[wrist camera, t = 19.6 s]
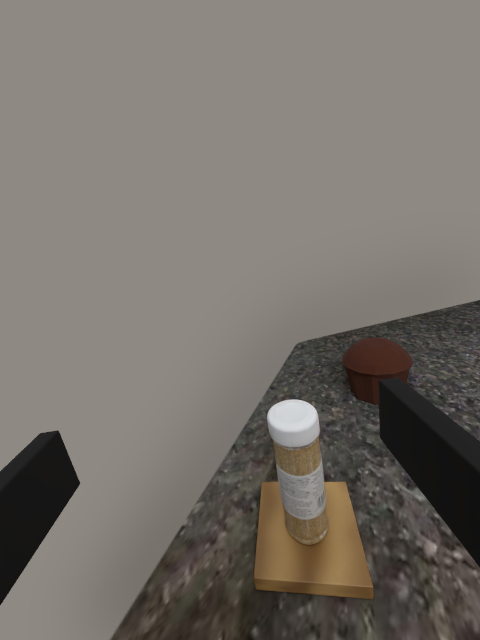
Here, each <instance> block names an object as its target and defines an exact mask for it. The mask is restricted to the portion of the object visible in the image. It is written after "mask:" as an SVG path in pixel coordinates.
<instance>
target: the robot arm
mask: <svg viewBox="0 0 480 640" xmlns="http://www.w3.org/2000/svg"><path fill="white" fill-rule="evenodd" d="M379 416H380V438H381V440H382V441H383V442H384V444H385V445H386V446H387V448H388V449H389V450H390V451H391V453H392V454H393V455H394V457H395V458H396V459H397V461H398V462H399V463H400V464H401V466H402V467H403V468H404V470H405V471H406V472H407V473H408V475H409V476H410V477H411V479H412V480H413V481H414V483H415V484H416V485H417V486H418V488H419V489H420V490H421V492H422V493H423V494H424V496H425V497H426V498H427V499H428V501H429V502H430V503H431V505H432V506H433V507H434V508H435V510H436V511H437V512H438V514H439V515H440V516H441V518H442V519H443V520H444V521H445V523H446V524H447V525H448V527H449V528H450V529H451V531H452V532H453V533H454V534H455V536H456V537H457V538H458V540H459V541H460V542H461V543H462V545H463V546H464V547H465V549H466V550H467V551H468V553H469V554H470V555H471V556H472V558H473V559H474V560H475V562H476V563H477V564H478V566H479V567H480V441H478V440H477V439H476V438H475V437H473V436H472V435H471V434H470V433H468V432H467V431H466V430H464V429H463V428H462V427H461V426H459V425H458V424H457V423H456V422H454V421H453V420H452V419H450V418H449V417H448V416H447V415H445V414H444V413H443V412H441V411H440V410H439V409H438V408H436V407H435V406H434V405H433V404H431V403H430V402H429V401H427V400H426V399H425V398H424V397H422V396H421V395H420V394H419V393H417V392H416V391H415V390H413V389H412V388H411V387H410V386H408V385H407V384H406V383H405V382H403V381H402V380H401V379H399V378H398V377H396V378H390V379H383V380H379ZM79 484H80V482H79V480H78V477H77V475H76V472H75V470H74V467H73V465H72V462H71V460H70V457H69V455H68V453H67V450H66V448H65V445H64V443H63V440H62V438H61V435H60V433H59V431H52V432H46V433H40V434H39V435H38V436H37V437H36V438H35V439H34V440H33V441H32V442H31V443H30V444H29V445H28V446H27V447H25V448H24V449H23V450H22V451H21V452H20V453H19V454H18V455H17V456H16V457H15V458H14V459H13V460H12V461H11V462H10V463H9V464H8V465H7V466H6V467H4V468H3V470H1V471H0V605H1V603H2V602H3V600H4V599H5V597H6V596H7V594H8V593H9V591H10V590H11V588H12V587H13V585H14V584H15V582H16V580H17V579H18V577H19V576H20V574H21V573H22V571H23V570H24V568H25V567H26V565H27V564H28V562H29V561H30V559H31V558H32V556H33V555H34V553H35V552H36V550H37V549H38V547H39V545H40V544H41V542H42V541H43V539H44V538H45V536H46V535H47V533H48V532H49V530H50V529H51V527H52V526H53V524H54V523H55V521H56V519H57V518H58V517H59V515H60V514H61V512H62V510H63V509H64V507H65V506H66V504H67V503H68V501H69V499H70V498H71V497H72V495H73V494H74V492H75V491H76V489H77V488H78V486H79Z"/></svg>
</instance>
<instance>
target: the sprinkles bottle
mask: <svg viewBox="0 0 480 640" xmlns="http://www.w3.org/2000/svg"><path fill="white" fill-rule="evenodd" d="M267 421H268V428H269V433H270V436H271V438H272V440H273V446H274V453H275V460H276V467H277V473H278V482H279V488H280V494H281V500H282V504H283V508H284V514H285V516H284V520H285V525H286V528H287V530H288V532H289V534H290V535H291V537H292V538H294V539H295V540H297V541H298V542H300V543H302V544H307V545H312V544H315V543H318V542H320V541H322V540H323V539H324V538H325V536H326V534H327V531H328V529H329V520H328V516H327V511H326V495H325V485H324V475H323V466H322V458H321V454H320V447H319V438H318V437H319V431H320V428H319V420H318V414H317V411H316V409H315V408H314V407H313V406H312V405H311V404H309V403H307V402H305V401H301V400H285V401H282V402H279V403H277V404H275V405H274V406H273V407H272V408H271V409H270V410H269V412H268V415H267Z"/></svg>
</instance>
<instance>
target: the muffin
mask: <svg viewBox="0 0 480 640" xmlns="http://www.w3.org/2000/svg"><path fill="white" fill-rule="evenodd" d="M342 362H343V364H344V365H345V368H346V372H347V376H348V380H349V384H350V388H351V391H352V392H353V393H354V394H355V395H356V396H357V398H358V399H360V400H363V401H367V402H369V403H372V404H379V380H383V379H390V378H396V377H398V378H399V379H401V380H402V381H403V382H405V383H406V382H407V377H408V372H409V369H410V368H411V366H412V364H413V362H412V359H411V356H410V355H409V354H408V353H407V352H406V350H405V349H404V348H402V347H401V346H400V345H398V344H397V343H395V342H393V341H391V340H388V339H385V338H367V339H363V340H361V341H359V342H357V343H356V344H354V345H353V346H351V347H350V348H349V349H348V350H347V352H346V353H345V354H344V355H343V359H342Z"/></svg>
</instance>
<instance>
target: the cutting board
mask: <svg viewBox="0 0 480 640" xmlns="http://www.w3.org/2000/svg"><path fill="white" fill-rule="evenodd" d="M324 485H325V495H326V511H327V516H328V520H329V529H328V531H327V534H326V536H325V538H324V539H323V540H322V541H320V542H318V543H315V544H312V545H307V544H302V543H300V542H298V541H297V540H295V539H294V538H292V537H291V535H290V534H289V532H288V530H287V528H286V525H285V520H284V516H285V514H284V508H283V504H282V500H281V494H280V488H279V482H262V488H261V499H260V511H259V523H258V534H257V546H256V557H255V569H254V582H255V586H256V589H257V590H267V591H279V592H291V593H304V594H316V595H328V596H340V597H352V598H364V599H374V591H373V584H372V580H371V576H370V572H369V569H368V565H367V561H366V557H365V553H364V550H363V546H362V542H361V538H360V534H359V531H358V527H357V523H356V519H355V515H354V512H353V508H352V504H351V500H350V496H349V493H348V489H347V485H346V482H324Z"/></svg>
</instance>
